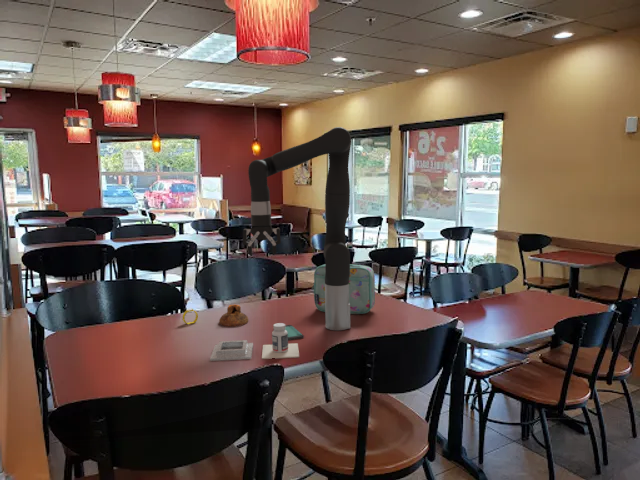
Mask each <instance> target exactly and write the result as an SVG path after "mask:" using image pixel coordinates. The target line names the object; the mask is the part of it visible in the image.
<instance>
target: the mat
mask: <svg viewBox="0 0 640 480" xmlns="http://www.w3.org/2000/svg"><path fill="white" fill-rule="evenodd" d="M261 352H262V353H261V354H262V355H261V359H262V360H269V359H270V360H271V359H272V358H275V359H290V358H291V359H292V358H295V359H297V358H300V352H299V343H295V342H294V343H288V351H286V352H283V353H276V352H274V351H273V348H272V344H263V345H262V351H261ZM272 360H273V359H272Z"/></svg>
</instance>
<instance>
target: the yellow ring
mask: <svg viewBox="0 0 640 480" xmlns="http://www.w3.org/2000/svg"><path fill="white" fill-rule="evenodd" d="M191 312H194V313H195V318H194V320H193V321H190V322H187V321H186V317H185V316H187V315H186V314H187V313H191ZM198 318H199V314H198V312H197V311H196V310H194V308H190V307H189V308H187V309H186V310H185V311H184V312H183V314H182V321H183V323H184V324H187V325H191V324H195V323H196V322H197V321H198Z"/></svg>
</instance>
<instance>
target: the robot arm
mask: <svg viewBox="0 0 640 480" xmlns="http://www.w3.org/2000/svg"><path fill="white" fill-rule="evenodd" d="M351 146H352V136H351V134H350V132H349V130H348V129H346V128H344V127H341V126H336V127H333V128H331V129H330V130H328V131H327V132H325V133H324V134H322V135H320V136H318V137H316V138H313V139H312V140H310V141H307V142H303V143H301V144H298V145H295V146H292V147H290V148H289V147H288V148H287V149H284V150H281V151H279V152H276V153H275V154H273V155H271V156H270V157H269V156H268V157H266V158H263V159H255V160H253V161H251V162H250V163H249V165H248V170H247V171H248V174H247V175H248V180H249V186H250V199H251V200H250V220H251V221H250V222H251V223H250V226H251V227H250V228H244V229H243V231H242V244H243V246H244V245H245V246H247V249H248V250H247V251H248V255H250V257H253V246H252V245H253V244H254V242H255V241H261V240H263V241H267V240H268V241H269V242H270V243H271V244H272V246H271V247H272V256H275V255H276V254H277V245H280V244H281V242H282V241H281V229H280V227H277V228H273V227H272V208H271V207H272V206H271V197H270V196H271V195H270V194H271V192H270V188H269V186H268V178H269V177H271V176H274V175H275V174H278V173H280V172H283V171H287V170H290V169H292V168H295V167H297V166H300V165H302V164H304V163H306V162H308V161H310V160H312V159H315V158H318V157H321V156H325V155H328V171H327V176H326V181H325V182H326V183H325V190H324V191H325V195H324V196H325V197H324V208H325V209H324V211H325V213H324V214H325V215H324V216H325V226H326V228H325V230H326V231H325V238H324V239H325V240H324V246H323V257H324V260H325V263H324V264H325V271H326V272H325V312H324V314H325V315H324V316H325V318H324V319H325V328H326V329H327V330H331V331H344V330H348V329H349V330H350V329H351V314H350V303H349V277H350V264H351V253H350V250H349V248H348V247H347V244H346V243H347V242H346V225H347V220H348V216H349V213H350V212H349V211H350V205H351V202H350V201H351V192H350V191H351V188H350V187H351V184H350V173H349V171H350V170H349V163H350V162H349V160H350V153H351ZM272 233H274V234H275V235H276V241H275V239H274V238H273V237H272ZM249 234H251V235H252V238H251V239H250V240H249V241H247V240H248V239H247V238H248V237H247V236H248V235H249Z"/></svg>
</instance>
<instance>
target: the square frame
mask: <svg viewBox="0 0 640 480" xmlns="http://www.w3.org/2000/svg"><path fill="white" fill-rule="evenodd" d="M253 348H254V342H248V339H244V340H222V341H219V342H218V344H215V345H214V347H213V350H212V352H211V355H210V358H209V362H219V361H239V360H252V355H253Z"/></svg>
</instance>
